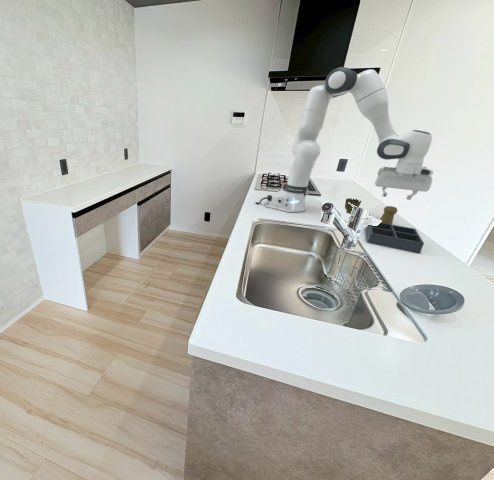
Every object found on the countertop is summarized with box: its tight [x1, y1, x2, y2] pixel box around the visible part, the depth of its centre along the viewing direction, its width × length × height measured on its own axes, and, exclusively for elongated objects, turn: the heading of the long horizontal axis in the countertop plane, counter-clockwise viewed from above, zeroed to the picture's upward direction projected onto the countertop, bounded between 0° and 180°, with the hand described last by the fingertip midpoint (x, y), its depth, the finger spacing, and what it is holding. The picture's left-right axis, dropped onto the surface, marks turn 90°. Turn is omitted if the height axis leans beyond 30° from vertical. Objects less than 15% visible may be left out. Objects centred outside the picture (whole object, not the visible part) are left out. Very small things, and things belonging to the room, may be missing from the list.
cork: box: [379, 205, 398, 225], centre depth 129 cm, size 6×6×11 cm
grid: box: [365, 223, 425, 254], centre depth 117 cm, size 18×18×5 cm
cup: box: [344, 197, 362, 215], centre depth 148 cm, size 8×7×8 cm
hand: (396, 197), depth 125 cm, fingers open, 8 cm apart
